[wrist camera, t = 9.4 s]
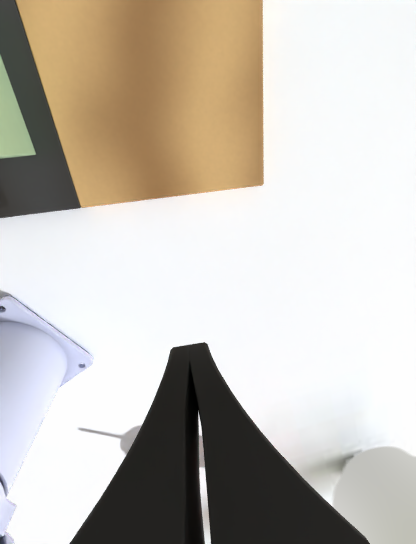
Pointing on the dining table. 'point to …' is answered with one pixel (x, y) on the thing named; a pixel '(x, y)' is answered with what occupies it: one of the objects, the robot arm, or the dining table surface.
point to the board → (132, 100)
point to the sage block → (12, 122)
